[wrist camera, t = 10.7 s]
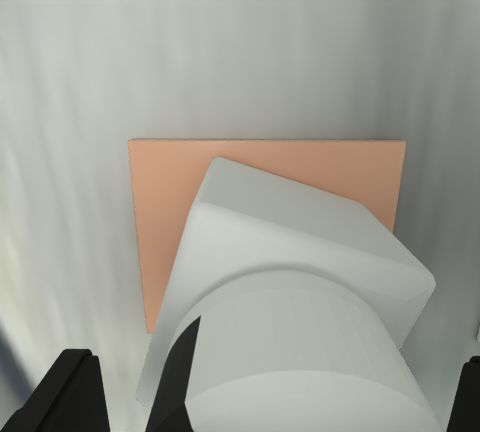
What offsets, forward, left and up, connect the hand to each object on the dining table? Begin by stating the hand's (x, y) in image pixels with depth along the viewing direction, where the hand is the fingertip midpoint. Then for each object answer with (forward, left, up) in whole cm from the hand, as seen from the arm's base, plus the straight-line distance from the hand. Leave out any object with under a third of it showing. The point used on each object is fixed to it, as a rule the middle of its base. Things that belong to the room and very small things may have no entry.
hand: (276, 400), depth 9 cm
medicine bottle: (0, 0, -9) cm, 9 cm away
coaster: (0, 0, -10) cm, 10 cm away
